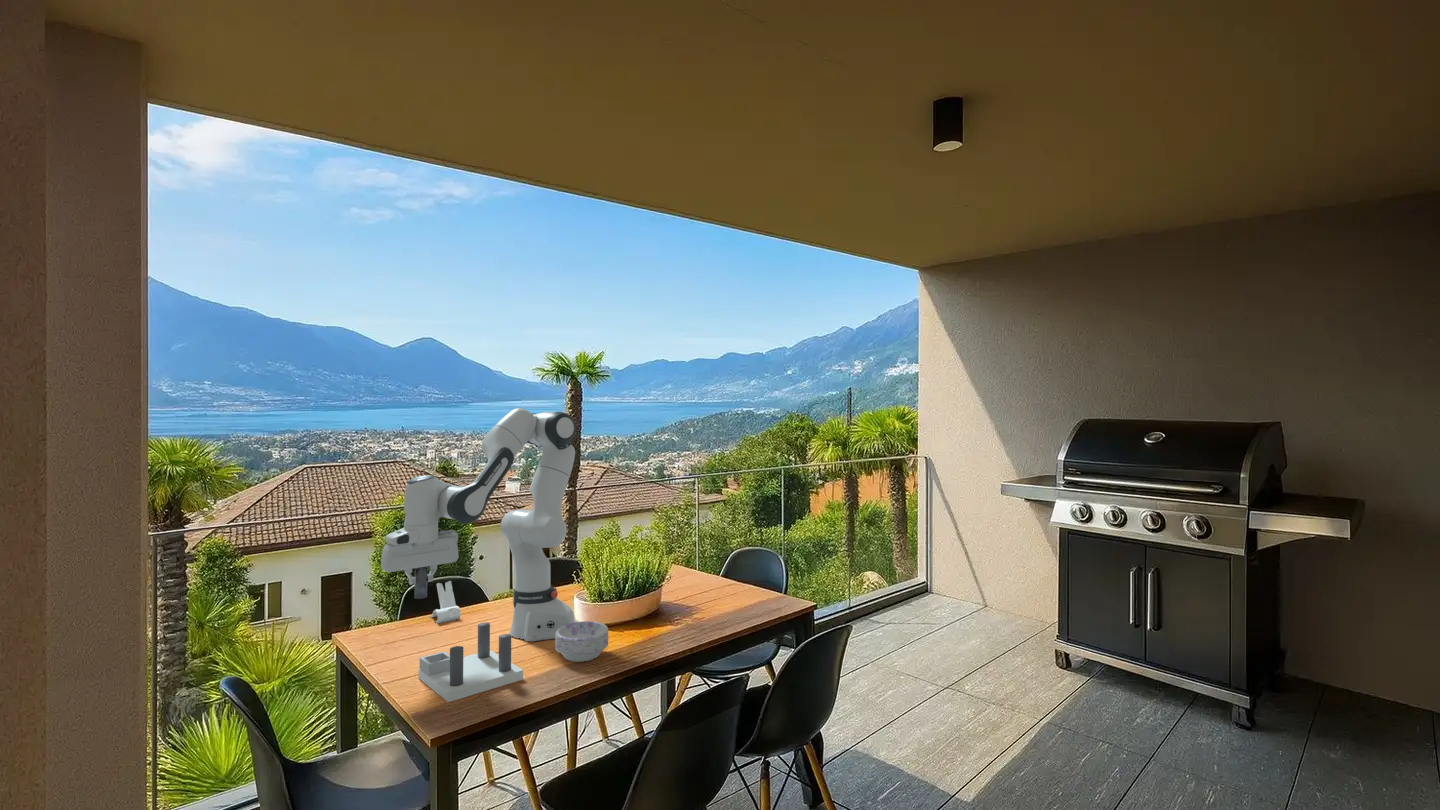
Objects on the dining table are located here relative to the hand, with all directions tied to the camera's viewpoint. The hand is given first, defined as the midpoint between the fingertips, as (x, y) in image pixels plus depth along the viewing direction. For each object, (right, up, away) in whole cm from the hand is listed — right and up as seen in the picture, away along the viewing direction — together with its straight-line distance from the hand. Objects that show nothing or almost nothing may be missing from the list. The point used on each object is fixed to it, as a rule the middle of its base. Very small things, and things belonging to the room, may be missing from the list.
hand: (420, 582), depth 187 cm
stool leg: (0, -4, 0) cm, 4 cm away
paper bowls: (+44, -24, +7) cm, 50 cm away
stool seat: (+18, -23, -10) cm, 31 cm away
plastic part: (-10, -24, +40) cm, 48 cm away
